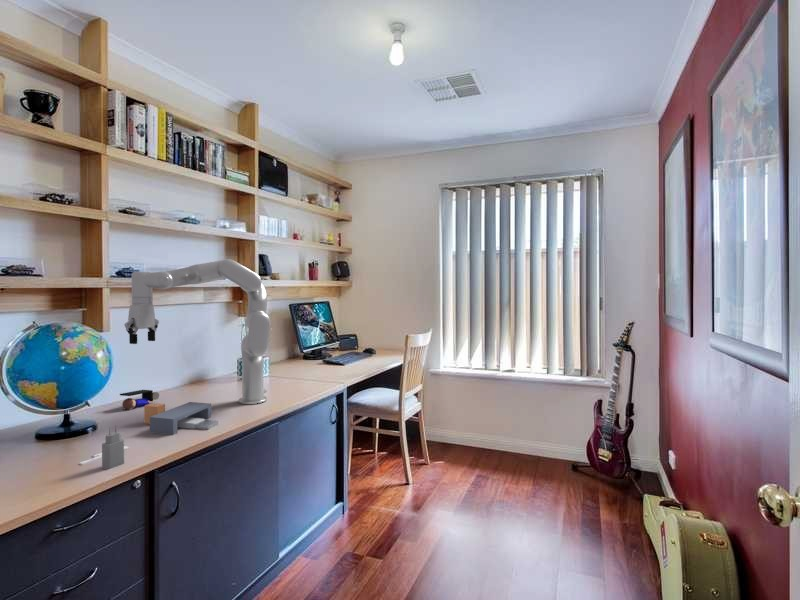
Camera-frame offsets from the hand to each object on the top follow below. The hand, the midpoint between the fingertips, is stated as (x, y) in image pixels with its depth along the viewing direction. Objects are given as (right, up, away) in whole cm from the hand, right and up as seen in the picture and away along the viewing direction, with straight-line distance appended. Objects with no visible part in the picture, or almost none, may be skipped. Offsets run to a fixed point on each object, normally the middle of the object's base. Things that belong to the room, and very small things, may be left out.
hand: (142, 342), depth 186 cm
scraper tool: (+19, -31, -11) cm, 38 cm away
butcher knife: (+12, -33, -44) cm, 56 cm away
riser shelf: (+22, -31, -12) cm, 40 cm away
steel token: (+33, -32, -14) cm, 48 cm away
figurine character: (-9, -30, +13) cm, 34 cm away
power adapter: (+21, -32, -52) cm, 65 cm away
